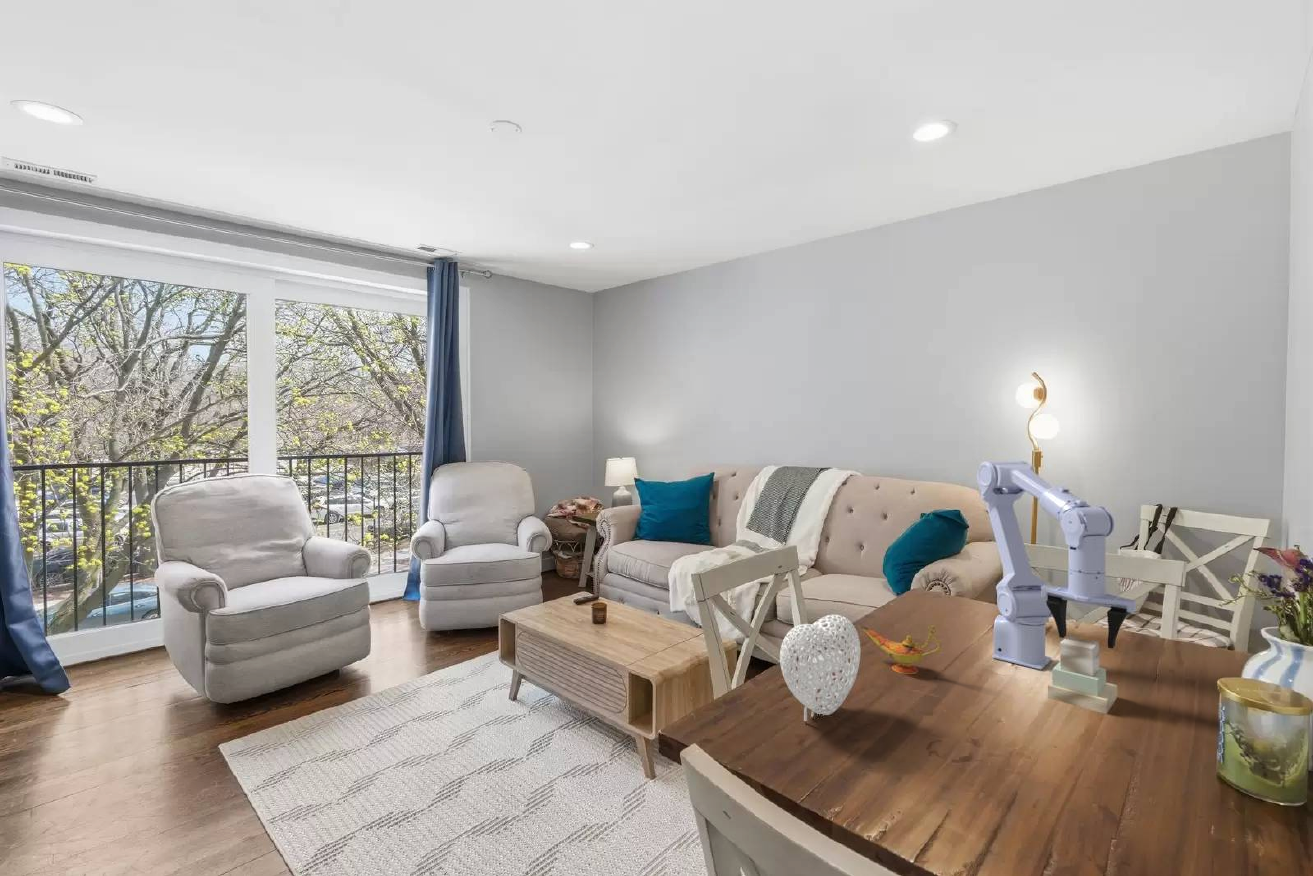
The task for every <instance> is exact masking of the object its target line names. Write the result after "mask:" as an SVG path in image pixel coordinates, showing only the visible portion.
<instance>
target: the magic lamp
mask: <svg viewBox="0 0 1313 876" xmlns="http://www.w3.org/2000/svg"><path fill="white" fill-rule="evenodd" d="M858 628H859V629H861V630H862V631H864V632H865V633H866V635H867V636H868V637H869V638H871V640H872V642H874V643H875V644H876V646H877V647H879V648H880V649H881V650H882V651H884V652H885V653H886V654H887V655H888V656H889V657H890V658H892V659H893V660H895V661H897V662H898V663H897V664H893V665H892V666H891V669H892V670H893V671H895V672H896V673H899V674H903V675H915V674H917V673H918V672H919V670H918V668H916V667H915V666H913V665H912V664H914V663H917V662H919V661H920V662H921V663H922V664H923V665H928V664H929V660H927V663H925V662H924V661H923V657H924V656H926V655H930V654H933V653H935V652H937V651H939V649H940V648H941V644H940V641H939V640H938V639H937V638H936V636H935V635H934V634H936V633H937V629H936V625H928V630H929V633H928V637H927V639H926V642H925V643H924V645H922V646H919V645H918V644H916V643H915V640H914V639H913V638H912V637H911V636H910V635H907V636H906V639H904V640H903V641H902V642H897V641H893V640H890V639H887V638H885V637H883V636H882V635H880V634H878V633H877V632H875V631H874V630H872V629H871V628H869V627H867V626H864V625H859V626H858ZM933 630H934V631H933ZM931 637H933V639H934V640H935V642H936V643H937V648H936V649H934V650H931V651H929V652H928V651H927V652H924V653H923V649H925V648H926V647H927V646H928V644H929V642H930V640H931Z"/></svg>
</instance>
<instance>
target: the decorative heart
mask: <svg viewBox="0 0 1313 876" xmlns="http://www.w3.org/2000/svg"><path fill="white" fill-rule="evenodd" d="M826 625H827V626H826ZM839 627H840V628H839ZM799 636H800V637H799ZM842 637H843V638H842ZM860 641H861V640H860V637H859V634H858V631H857V629H856V627H855V626H854V624H853V623H852V621H850V619H848V618H847V617H845V616H843V615H839V614H828V615H825V616H823V617H821V618H819V619H818V620H816V621H815V622H813V623H812V624H811V623H803V624H797V625H795V626H794V627H793V628H791V629H790V630H789V631H788V632H787V633H786V635H784V638H783V640H782V643H781V646H780V650H779V651H780V652H779V653H780V654H779V663H780V664H779V665H780V668H781V669H780V670H781V673H782V676H783V678H784V681H785V684H786V685H787V688H788V689H789V690H790V692H791V693H792V695H793V696H794V697H795V698H796V699H797V700H798V701H799V702H800V703H801V704H802V705H803V706H804V708H803V721H807V722H808V709H809V710H811V712H810V718H811V717H813V716H814V717H815V714H817V715H818V714H819V715H820V714H823V715H822V716H824V715H827V716H829V715H831V714H833V713H834V712H836V711H837V710H838V709H839V708H841V705H842V704H843V702H845V700H846V698H847V697H848V695H849V693H850V691H851V689H852V687H853V686H854V684H855V681H856V678H857V675H858V672H859V668H860V662H861V642H860ZM801 647H802V648H801ZM825 648H826V649H825ZM842 650H843V651H842ZM797 659H798V660H797ZM849 659H850V660H849ZM840 671H841V672H840ZM833 673H834V674H835V675H833ZM834 679H835V680H834ZM818 690H819V692H818ZM816 698H817V699H816ZM821 706H822V707H821ZM818 709H819V710H818Z"/></svg>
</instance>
